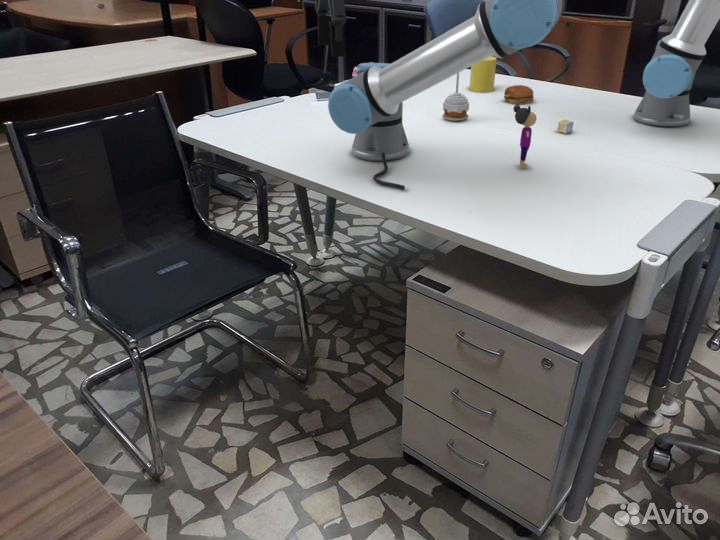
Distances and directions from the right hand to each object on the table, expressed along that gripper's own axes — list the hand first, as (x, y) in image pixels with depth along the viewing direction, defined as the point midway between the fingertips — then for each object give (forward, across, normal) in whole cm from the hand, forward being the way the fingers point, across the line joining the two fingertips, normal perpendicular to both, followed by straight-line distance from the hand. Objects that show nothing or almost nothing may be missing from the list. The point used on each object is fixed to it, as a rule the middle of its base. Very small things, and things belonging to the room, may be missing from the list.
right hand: (533, 34), depth 169 cm
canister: (+24, -32, -13) cm, 43 cm away
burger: (+24, -16, 0) cm, 29 cm away
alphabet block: (+24, +17, +11) cm, 31 cm away
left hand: (-4, +51, -50) cm, 72 cm away
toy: (+24, +47, -4) cm, 53 cm away
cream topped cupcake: (+24, +7, -21) cm, 33 cm away
